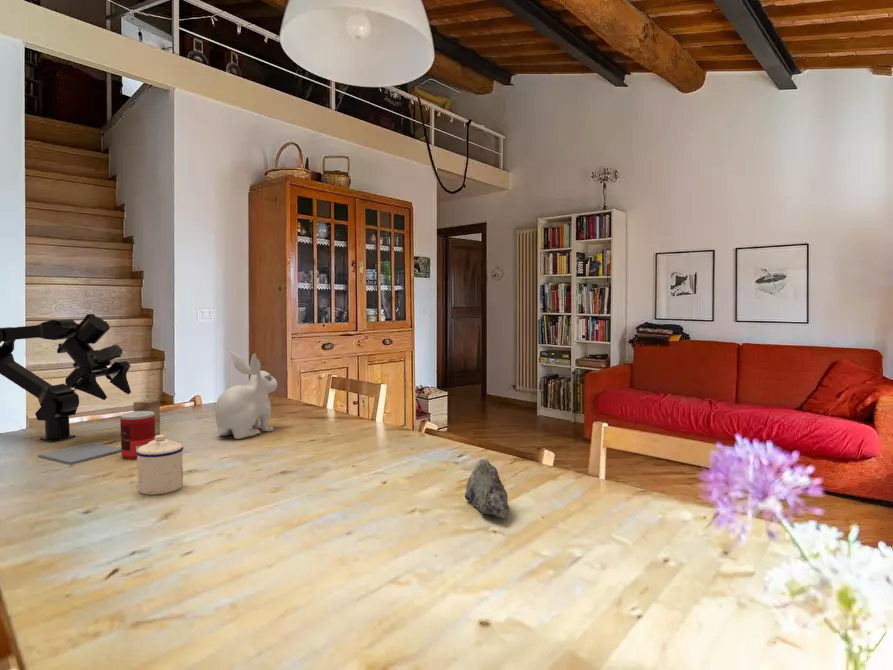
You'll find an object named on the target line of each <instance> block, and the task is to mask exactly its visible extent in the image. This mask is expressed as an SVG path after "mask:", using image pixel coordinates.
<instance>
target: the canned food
mask: <svg viewBox="0 0 893 670" xmlns="http://www.w3.org/2000/svg"><path fill="white" fill-rule="evenodd" d="M119 417H120V419H119V420H120V421H119V422H120V424H119V425H120V448H121V452H120V454H121V457H122V458H123V459H125V460H137V456H138V455H137V454H136V452H137V449H138V448H139V447H141V446H143V445H146V444H148V443H149V442H151V441H153V440H155V414H154V412H152V411H136V412H134V411H130V412H125V413H122V414H121V415H120V416H119Z"/></svg>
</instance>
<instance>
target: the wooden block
mask: <svg viewBox="0 0 893 670" xmlns="http://www.w3.org/2000/svg"><path fill="white" fill-rule="evenodd" d="M160 402H161V401H160V399H147V398H146V399H142V400H137V401H134V402H133V412H136V411H152V412H154V414H155V436H157V435H161V413H160V412H161V411H160V410H161V409H160V408H161V406H160Z"/></svg>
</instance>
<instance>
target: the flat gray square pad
mask: <svg viewBox="0 0 893 670" xmlns="http://www.w3.org/2000/svg"><path fill="white" fill-rule="evenodd" d="M118 453H121V447H119V446H118V447H117V446H114V445H113V446H112V445H108V444H104V443H98V442H93V441H92V442H87V443H84V444H80V445H74V446H71V447H67V448H62V449H57V450H53V451H49V452H44V453H39V454H37V457H38V458H41V459H46V460H50V461H53V462H54V461H55V462H59V463H63V464H67V465H70V466H71V465H75V464H79V463H82V462H86V461H90V460H95V459H98V458H99V459H100V458H102V457H103V458H104V457H106V456H110V455H115V454H118Z"/></svg>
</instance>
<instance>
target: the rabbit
mask: <svg viewBox="0 0 893 670" xmlns="http://www.w3.org/2000/svg"><path fill="white" fill-rule="evenodd" d="M229 353H230V356H231V361H232V363H233V366H234V367H235V369H236V370H237V372H239V373H241V374H243V375H249V376H250V377H249V380H248V381H247V383H246V385H235V386H234V385H233V386H231V387H229V388H228V389H226V390H225V391H224V392H222V393H221V394H220V395H219V396H218V398H217V400H216V403H215V423H216V426H217V431H218V435H219V436H222V437H223V436H224V437H225V436H230V435H233V438H234V439H236V440H241V439H245V438H249V437H253V436H256V435H257V434H258V435H259V434H261V431H260V430H259V429H261V430H262V431H263V432H272V431H273V432H274V430H275V429H274V427H273V426H269V420H270V417H271V414H272V413H271V412H272V405H271V401H270V397H269V393H270V394H271V393H273V392H274V391H276V389H277V387H278V381H277V379H276V378H275V377H274V376H272V375H271V373H270V372H267V371H265V370H261V367H262V366H261V365H262V364H261V362H260V359H258V357H257V353H256V352H255V353H253V355H252V356H251V360H250V362H249V363H250V364H249V363H248V362H247V361H246V360H245V358H243V357H242V356H241V355H239V354H238V353H237V352H235V351H232V350H230V351H229ZM259 419H260V420H259ZM259 421H260V424H259Z"/></svg>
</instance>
